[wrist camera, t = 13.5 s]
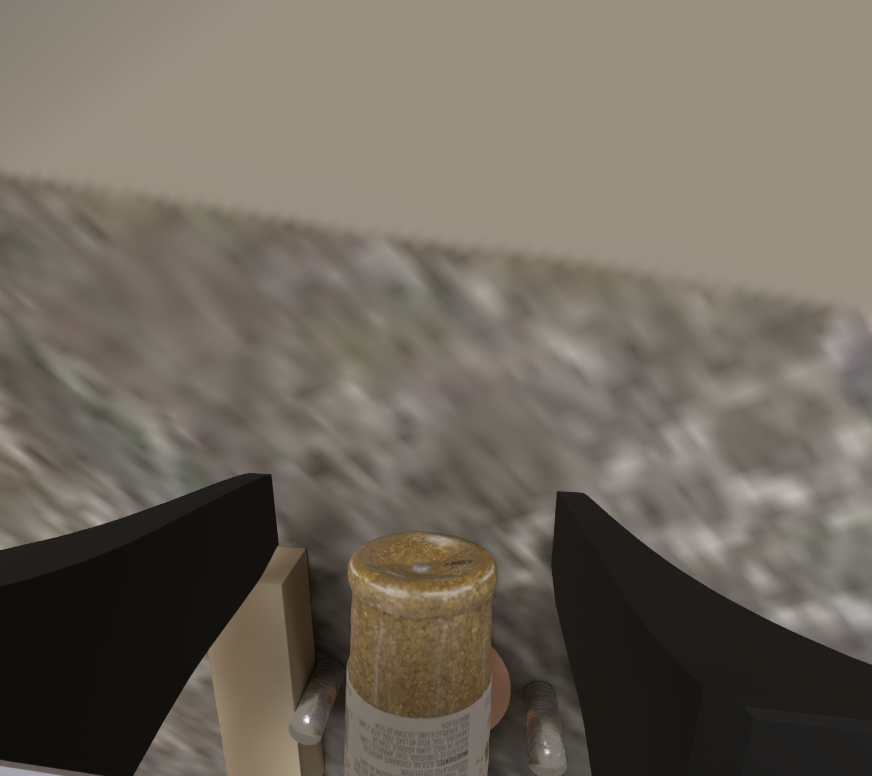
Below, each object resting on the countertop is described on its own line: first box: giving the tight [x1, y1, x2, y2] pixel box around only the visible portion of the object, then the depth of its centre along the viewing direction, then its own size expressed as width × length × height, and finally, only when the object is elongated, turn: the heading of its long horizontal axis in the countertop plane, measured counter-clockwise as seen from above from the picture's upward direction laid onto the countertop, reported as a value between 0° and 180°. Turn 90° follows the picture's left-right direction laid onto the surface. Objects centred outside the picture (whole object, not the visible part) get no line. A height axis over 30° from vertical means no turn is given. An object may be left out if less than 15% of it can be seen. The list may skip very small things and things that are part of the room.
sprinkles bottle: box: [344, 532, 497, 776], centre depth 14 cm, size 5×5×13 cm
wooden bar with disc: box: [208, 546, 511, 776], centre depth 17 cm, size 11×11×2 cm
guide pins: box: [289, 658, 567, 776], centre depth 17 cm, size 9×5×2 cm, turn 90°
